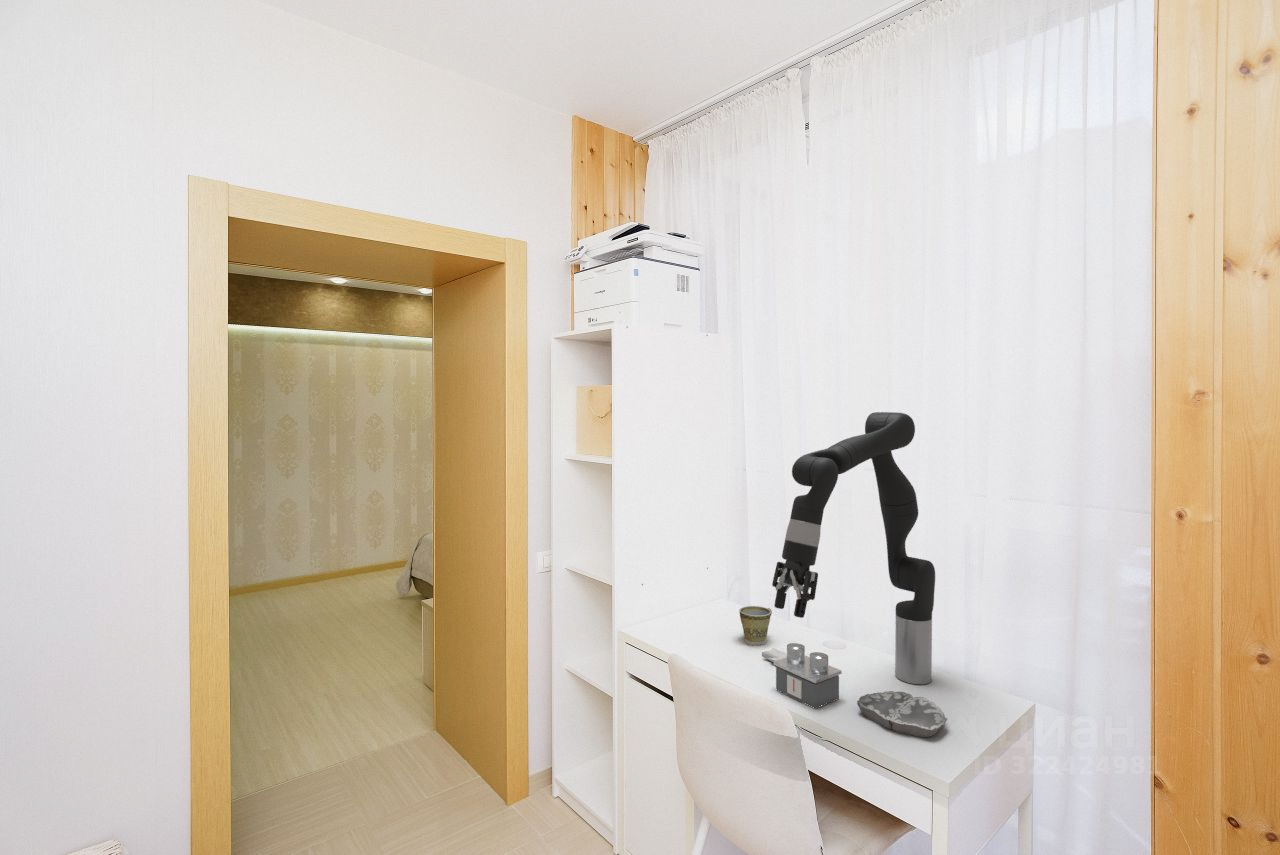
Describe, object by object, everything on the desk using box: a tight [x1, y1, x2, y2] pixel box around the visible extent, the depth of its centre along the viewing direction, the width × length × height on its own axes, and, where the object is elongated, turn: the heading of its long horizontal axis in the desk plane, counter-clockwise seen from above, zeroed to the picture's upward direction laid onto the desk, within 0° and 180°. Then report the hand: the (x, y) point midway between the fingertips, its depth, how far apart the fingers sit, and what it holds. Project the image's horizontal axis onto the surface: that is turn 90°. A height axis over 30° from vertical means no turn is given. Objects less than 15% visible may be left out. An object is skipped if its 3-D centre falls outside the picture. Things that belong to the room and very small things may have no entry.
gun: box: [761, 647, 787, 663], centre depth 179 cm, size 18×3×10 cm
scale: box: [775, 666, 840, 709], centre depth 163 cm, size 13×10×6 cm
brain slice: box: [856, 691, 948, 738], centre depth 150 cm, size 20×17×3 cm
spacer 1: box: [786, 642, 806, 665], centre depth 166 cm, size 5×5×4 cm
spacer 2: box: [809, 651, 829, 675], centre depth 159 cm, size 5×5×4 cm
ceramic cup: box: [738, 605, 773, 646], centre depth 201 cm, size 13×10×10 cm
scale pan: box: [773, 655, 843, 684], centre depth 163 cm, size 14×10×1 cm
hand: (788, 612), depth 142 cm, fingers open, 8 cm apart
